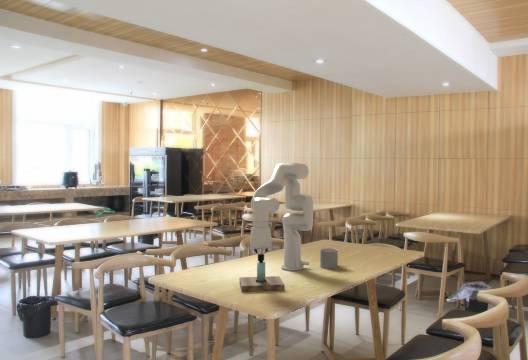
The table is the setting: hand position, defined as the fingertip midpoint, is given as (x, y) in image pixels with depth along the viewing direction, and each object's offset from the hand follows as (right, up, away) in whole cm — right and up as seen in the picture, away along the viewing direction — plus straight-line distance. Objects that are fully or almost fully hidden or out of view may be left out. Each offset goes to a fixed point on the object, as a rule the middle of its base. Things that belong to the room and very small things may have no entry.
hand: (260, 262), depth 216 cm
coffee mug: (+40, -11, +44) cm, 61 cm away
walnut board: (0, -12, +1) cm, 12 cm away
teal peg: (0, -12, +1) cm, 12 cm away
